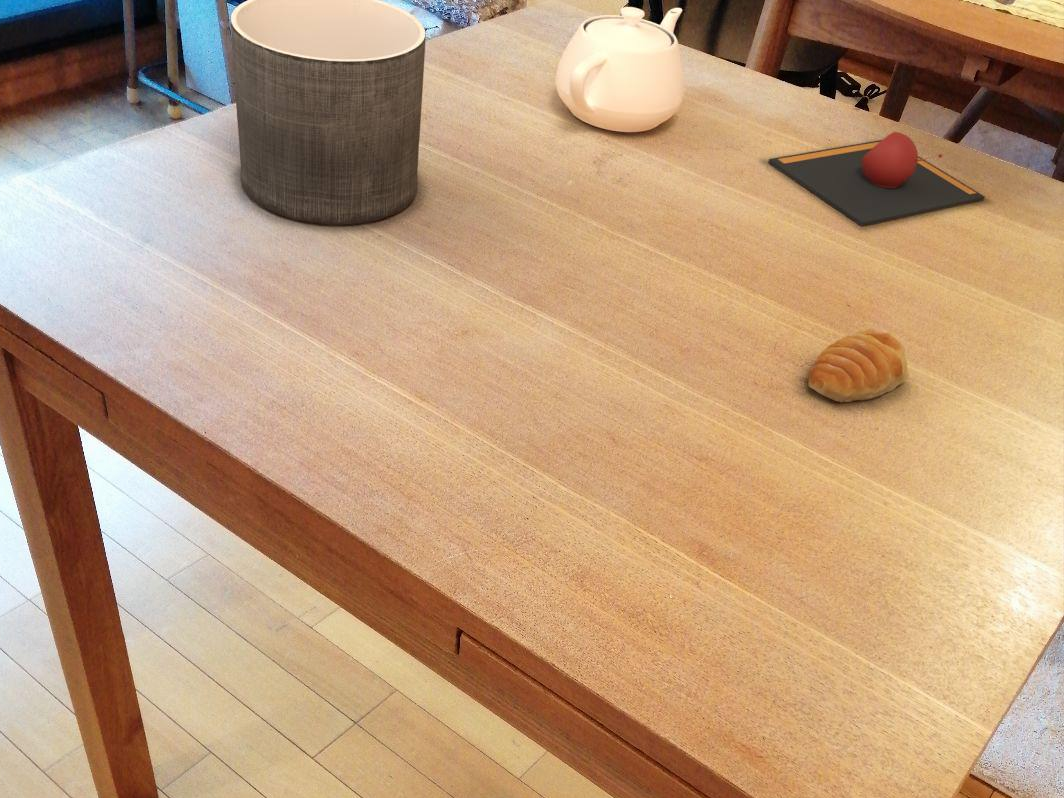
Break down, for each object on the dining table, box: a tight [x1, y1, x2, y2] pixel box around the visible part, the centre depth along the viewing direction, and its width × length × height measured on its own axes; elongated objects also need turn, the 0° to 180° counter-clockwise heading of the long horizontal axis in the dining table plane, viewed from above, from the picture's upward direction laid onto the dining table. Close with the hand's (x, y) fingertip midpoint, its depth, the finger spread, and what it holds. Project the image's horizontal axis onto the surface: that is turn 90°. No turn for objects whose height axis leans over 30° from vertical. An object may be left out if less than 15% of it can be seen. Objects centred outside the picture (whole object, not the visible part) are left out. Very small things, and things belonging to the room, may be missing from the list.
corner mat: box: [768, 139, 986, 227], centre depth 128 cm, size 20×16×1 cm
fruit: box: [862, 131, 943, 188], centre depth 125 cm, size 6×6×8 cm
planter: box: [229, 0, 427, 225], centre depth 106 cm, size 18×18×16 cm
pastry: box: [807, 328, 910, 403], centre depth 95 cm, size 9×7×4 cm
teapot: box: [554, 6, 686, 133], centre depth 130 cm, size 25×16×12 cm, turn 147°
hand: (1038, 18), depth 109 cm, fingers open, 8 cm apart
